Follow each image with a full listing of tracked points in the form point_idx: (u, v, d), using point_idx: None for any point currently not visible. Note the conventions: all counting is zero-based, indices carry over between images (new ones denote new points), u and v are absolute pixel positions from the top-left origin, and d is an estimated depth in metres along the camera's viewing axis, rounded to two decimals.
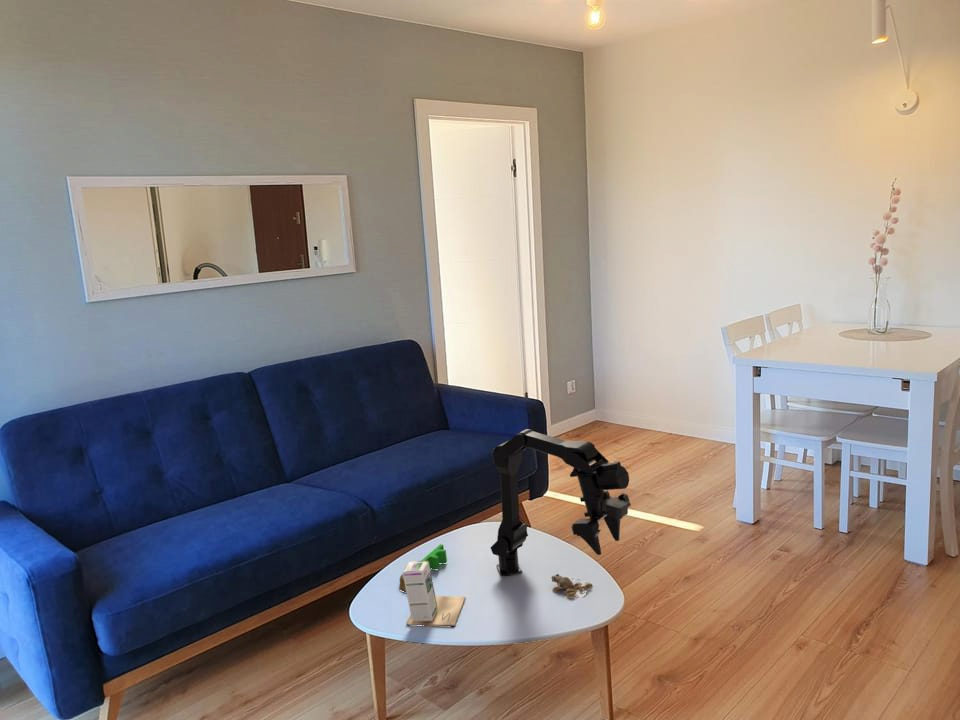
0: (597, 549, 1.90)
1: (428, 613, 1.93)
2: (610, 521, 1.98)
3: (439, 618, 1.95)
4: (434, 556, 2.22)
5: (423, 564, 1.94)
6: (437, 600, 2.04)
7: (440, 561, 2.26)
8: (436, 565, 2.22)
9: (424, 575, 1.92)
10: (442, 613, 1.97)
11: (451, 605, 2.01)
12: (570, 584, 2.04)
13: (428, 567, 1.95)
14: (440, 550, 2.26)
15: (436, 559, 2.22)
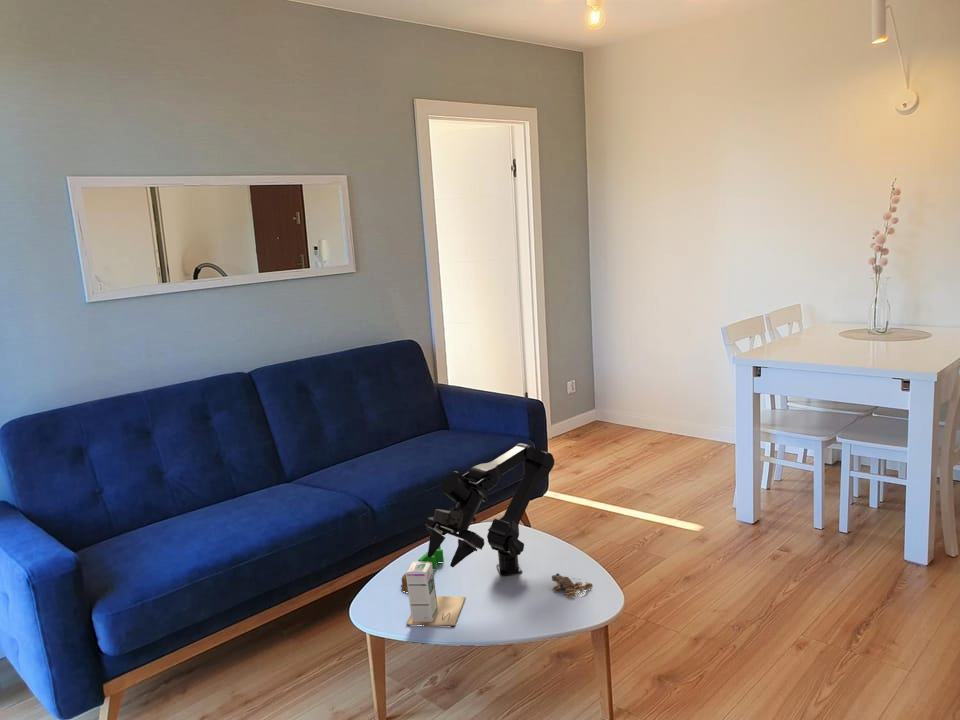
0: None
1: (429, 614, 1.93)
2: None
3: (439, 618, 1.95)
4: None
5: (426, 565, 1.94)
6: (437, 600, 2.04)
7: (437, 560, 2.26)
8: (433, 564, 2.23)
9: (427, 576, 1.92)
10: (442, 613, 1.97)
11: (451, 605, 2.01)
12: (570, 584, 2.04)
13: (431, 568, 1.95)
14: (437, 550, 2.26)
15: (433, 559, 2.22)
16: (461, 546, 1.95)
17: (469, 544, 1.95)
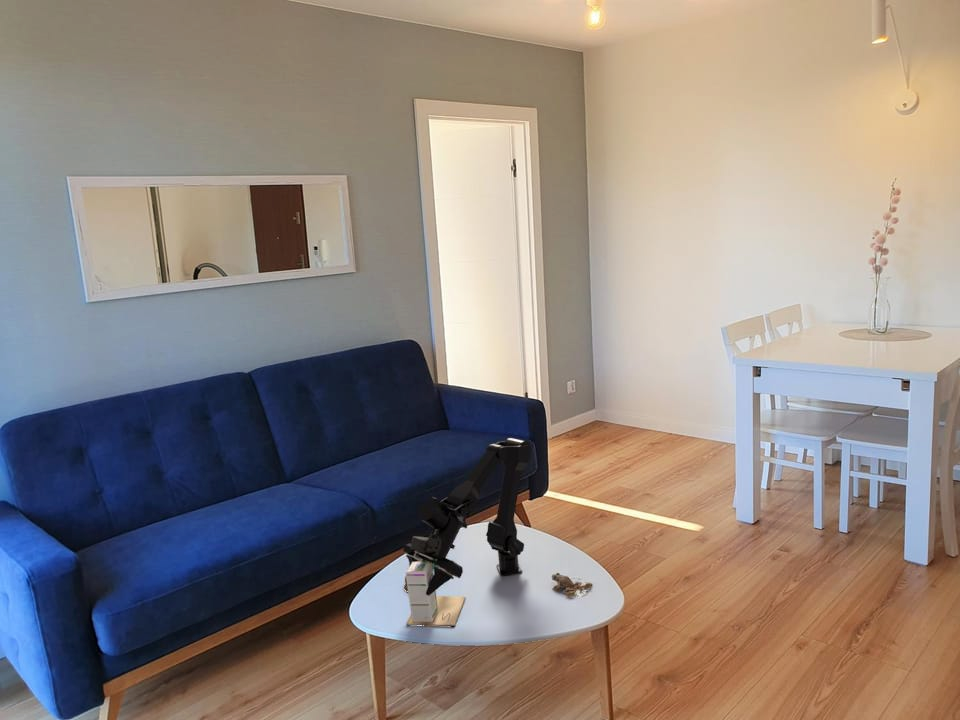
0: None
1: (429, 614, 1.93)
2: None
3: (439, 618, 1.95)
4: None
5: (426, 565, 1.94)
6: (437, 600, 2.04)
7: None
8: None
9: (427, 576, 1.92)
10: (442, 613, 1.97)
11: (451, 605, 2.01)
12: (570, 583, 2.04)
13: (431, 568, 1.95)
14: None
15: None
16: (437, 574, 1.91)
17: (445, 572, 1.91)
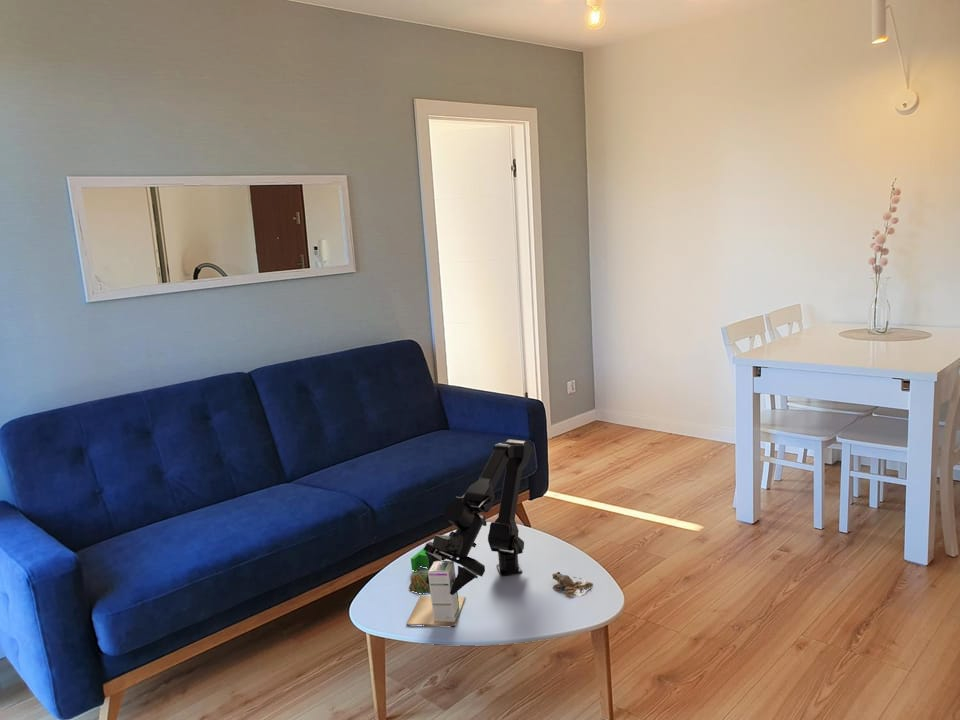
0: None
1: (451, 613, 1.92)
2: None
3: None
4: (423, 554, 2.24)
5: (448, 565, 1.93)
6: None
7: None
8: (425, 563, 2.24)
9: (449, 576, 1.91)
10: None
11: None
12: (570, 582, 2.05)
13: (453, 568, 1.94)
14: None
15: (425, 557, 2.23)
16: (461, 573, 1.89)
17: (469, 571, 1.89)
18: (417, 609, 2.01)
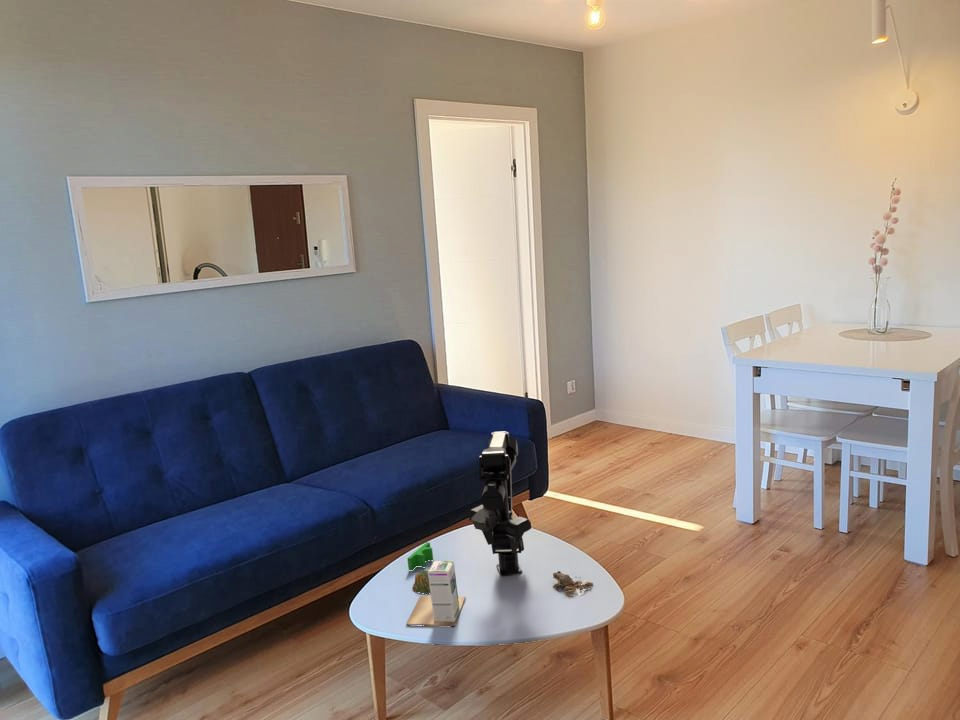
0: None
1: (451, 613, 1.92)
2: None
3: None
4: (420, 554, 2.25)
5: (448, 565, 1.93)
6: None
7: (426, 559, 2.28)
8: (422, 563, 2.24)
9: (449, 576, 1.91)
10: None
11: None
12: (570, 582, 2.05)
13: (453, 568, 1.94)
14: (426, 548, 2.28)
15: (422, 557, 2.24)
16: (512, 538, 1.97)
17: None
18: (417, 609, 2.01)
